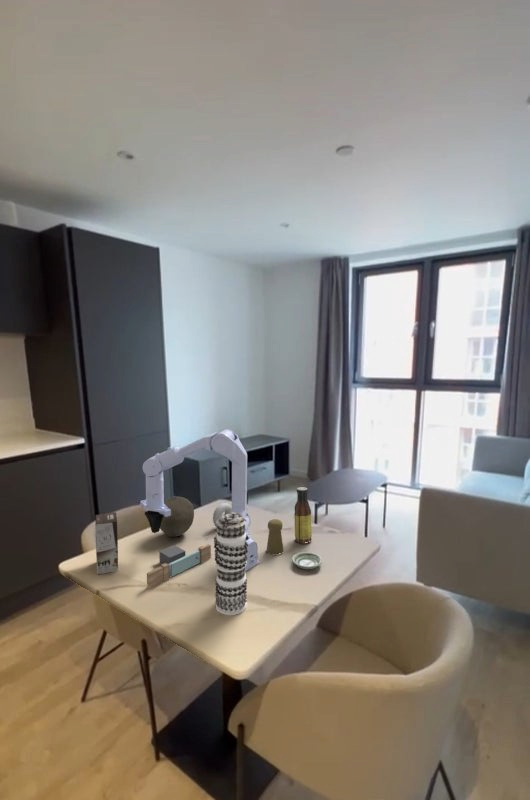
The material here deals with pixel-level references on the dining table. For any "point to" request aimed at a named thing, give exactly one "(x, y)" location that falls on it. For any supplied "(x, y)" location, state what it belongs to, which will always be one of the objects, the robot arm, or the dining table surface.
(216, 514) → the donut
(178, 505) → the cantaloupe
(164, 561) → the doorstop
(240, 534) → the decorative candle
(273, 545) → the cork
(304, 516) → the sauce bottle
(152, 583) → the tan wooden flat bar
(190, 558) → the light blue bar
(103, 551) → the coffee box
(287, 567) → the dining table surface
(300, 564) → the saucer
